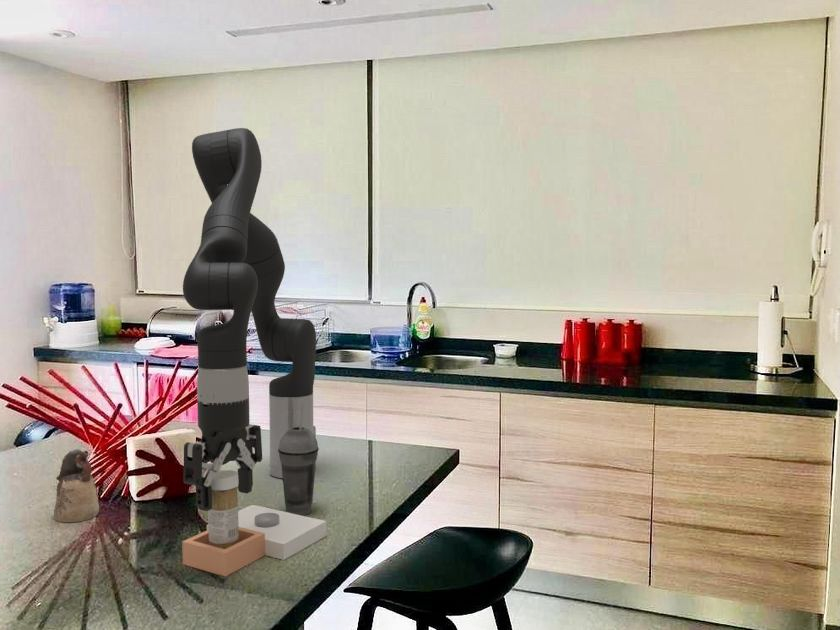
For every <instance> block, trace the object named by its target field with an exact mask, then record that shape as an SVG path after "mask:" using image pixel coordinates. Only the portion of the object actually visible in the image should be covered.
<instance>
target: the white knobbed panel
mask: <svg viewBox="0 0 840 630" xmlns="http://www.w3.org/2000/svg"><path fill="white" fill-rule="evenodd" d="M238 530H239V537H238V543H237V544H235V545H233V546H231V547H229V548H227V549H222V548H218V547H214V546H211V545H209V523H208V524H206V530H205V531H202V532H201V533H199V534H196V535H193V536H192V537H189V538H187V539H185V540H183V541H182V545H181V546H182V547H181V549H182V551H181V552H182V553H181V554H182V565H183V566H188V567H191V568H195V569H198V570H201V571H205V572H208V573H212V574H214V575H219V576H222V577H228V576H230V575H232V574H233V573H235V572H236V571H239V570H241V569H242V568H244V567H246V566H248V565H249V564H251V563H253V562H255V561H257V560H259V559H260V558H262V557H264V556H267V557H270V558H275V559H278V560H282V561H285V560H287V559H288V558H290V557H292V556H294V555H296V554H297V553H299V552H301V551H303V550H304V549H306V548H307V547H310V546H311V545H313V544H315V543H317V542H318V541H320V540H322V539H323V538H325V537H326V536H327V521H326V520H323V519H319V518H314V517H310V516H306V515H304V516H301V515H297V514H292V513H288V512H286V511H282V510H278V509H274V508H268V507H265V506H260V505H256V504H251V505H248V506H246V507H244V508H241V509H238Z"/></svg>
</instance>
